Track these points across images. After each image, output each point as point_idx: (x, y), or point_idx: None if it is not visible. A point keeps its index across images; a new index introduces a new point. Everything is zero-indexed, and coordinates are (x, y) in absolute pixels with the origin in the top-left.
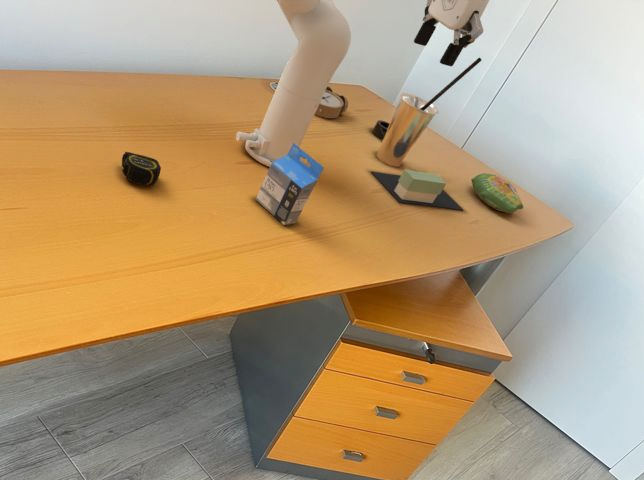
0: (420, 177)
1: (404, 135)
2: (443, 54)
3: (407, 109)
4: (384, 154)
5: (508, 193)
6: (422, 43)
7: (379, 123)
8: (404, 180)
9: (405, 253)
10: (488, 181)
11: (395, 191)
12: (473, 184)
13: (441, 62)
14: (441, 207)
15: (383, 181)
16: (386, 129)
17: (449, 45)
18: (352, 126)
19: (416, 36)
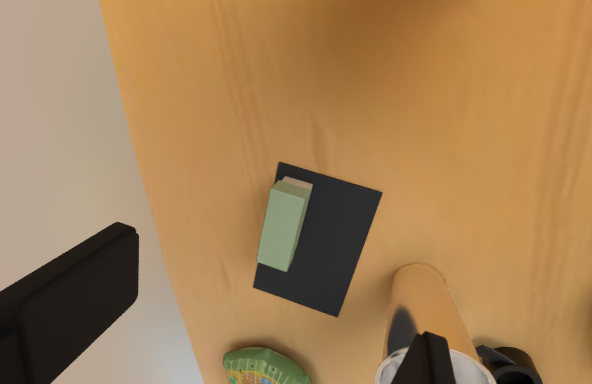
0: (275, 213)
1: (402, 305)
2: (102, 252)
3: None
4: (419, 270)
5: (241, 379)
6: (397, 377)
7: (529, 373)
8: (293, 188)
9: (140, 21)
10: (276, 381)
11: (308, 183)
12: (300, 369)
13: (117, 223)
14: None
15: (344, 189)
16: (501, 366)
17: (25, 290)
18: (564, 324)
19: (446, 365)
